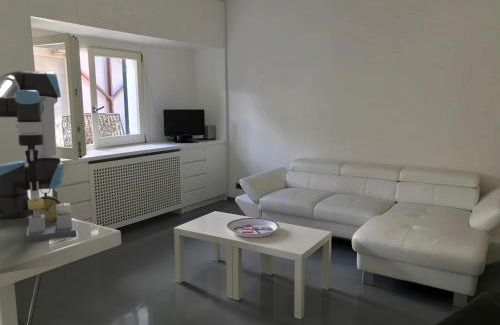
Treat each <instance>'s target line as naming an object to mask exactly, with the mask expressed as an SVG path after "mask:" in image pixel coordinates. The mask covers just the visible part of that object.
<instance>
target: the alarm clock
mask: <svg viewBox="0 0 500 325" xmlns="http://www.w3.org/2000/svg"><path fill="white" fill-rule="evenodd" d="M43 187H45V186H43ZM43 187H42V188H43ZM46 187H48V186H46ZM42 188H41V189H40V192H41V194H43V195H44V196H41V197H40V196H39V198H40V199H43V204H44V208H42V209H39V213H40V215H42V214H44V217H45V224H51V223H57V218H56V205H57V204H62V203H61V201H60V200H59V198H57V197H54V196H52V195H51V196H50V195H47V194H49V193H50V192H51V189H50V188H49V187H48V188H49V189H48V192H43V191H42V190H43V189H42ZM31 213H32V214H31V216H33V210H31Z"/></svg>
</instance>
